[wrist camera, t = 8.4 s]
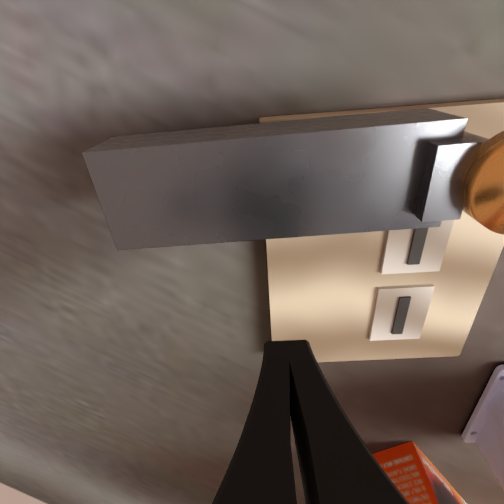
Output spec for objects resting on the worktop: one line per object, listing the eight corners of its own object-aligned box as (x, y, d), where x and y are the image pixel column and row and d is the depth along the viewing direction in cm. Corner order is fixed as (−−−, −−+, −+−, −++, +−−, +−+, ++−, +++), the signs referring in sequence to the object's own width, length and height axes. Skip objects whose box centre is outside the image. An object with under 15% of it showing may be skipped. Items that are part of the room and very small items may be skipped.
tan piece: (451, 344, 21) (501, 416, 17) (272, 352, 21) (276, 424, 17) (542, 95, 13) (682, 110, 9) (259, 117, 14) (261, 141, 9)
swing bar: (513, 99, 11) (622, 115, 8) (484, 194, 13) (562, 238, 10) (113, 136, 12) (58, 164, 8) (138, 220, 13) (102, 270, 10)
